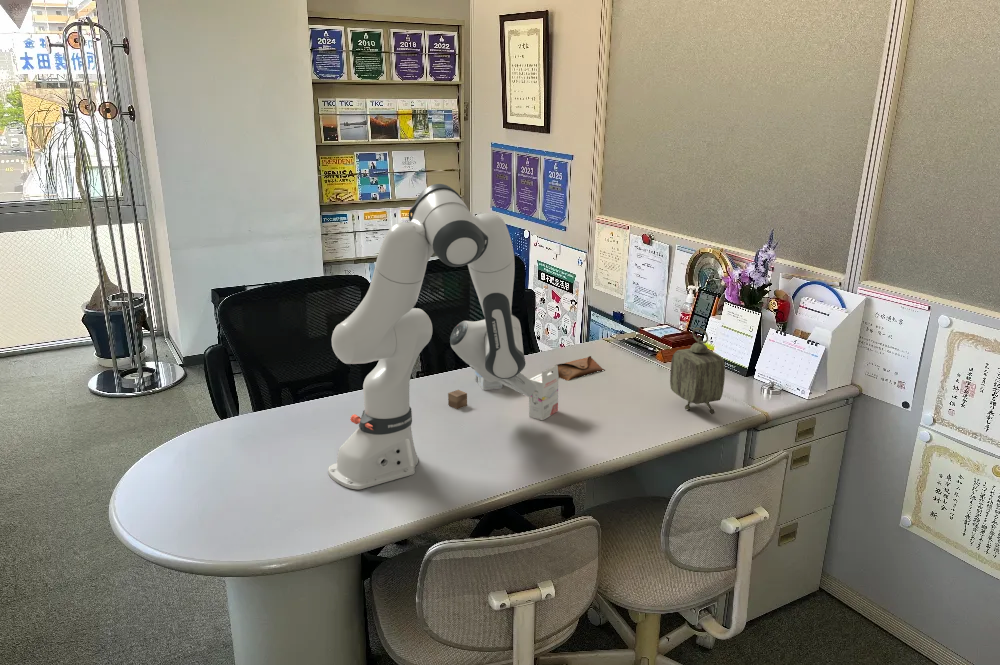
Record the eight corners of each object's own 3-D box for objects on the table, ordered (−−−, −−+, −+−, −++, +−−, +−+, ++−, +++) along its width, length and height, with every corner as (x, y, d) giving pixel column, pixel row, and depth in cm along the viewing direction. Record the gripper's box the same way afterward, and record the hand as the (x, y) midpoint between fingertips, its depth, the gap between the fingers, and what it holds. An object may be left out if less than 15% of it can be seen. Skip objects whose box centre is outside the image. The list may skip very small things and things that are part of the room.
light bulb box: (474, 379, 238) (473, 348, 235) (493, 377, 240) (493, 346, 237) (483, 390, 229) (482, 358, 225) (503, 388, 231) (503, 356, 227)
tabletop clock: (721, 415, 210) (729, 333, 202) (695, 420, 207) (702, 337, 199) (690, 398, 223) (697, 320, 215) (666, 402, 219) (671, 323, 212)
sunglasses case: (568, 381, 236) (561, 362, 237) (555, 386, 242) (549, 367, 243) (607, 370, 247) (600, 351, 248) (594, 374, 252) (587, 356, 253)
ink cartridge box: (544, 407, 216) (545, 361, 211) (558, 411, 213) (559, 364, 209) (527, 416, 209) (528, 369, 205) (542, 421, 206) (542, 372, 202)
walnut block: (457, 409, 214) (456, 396, 213) (448, 405, 217) (448, 393, 216) (467, 405, 217) (467, 393, 216) (458, 401, 220) (458, 389, 219)
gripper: (523, 366, 187) (551, 392, 196) (478, 346, 203) (506, 371, 211) (509, 385, 186) (538, 411, 194) (465, 364, 202) (494, 389, 210)
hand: (521, 390), depth 203 cm, fingers closed
